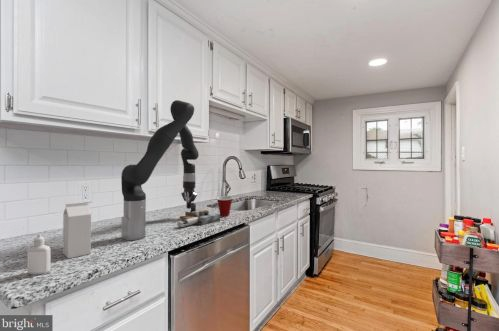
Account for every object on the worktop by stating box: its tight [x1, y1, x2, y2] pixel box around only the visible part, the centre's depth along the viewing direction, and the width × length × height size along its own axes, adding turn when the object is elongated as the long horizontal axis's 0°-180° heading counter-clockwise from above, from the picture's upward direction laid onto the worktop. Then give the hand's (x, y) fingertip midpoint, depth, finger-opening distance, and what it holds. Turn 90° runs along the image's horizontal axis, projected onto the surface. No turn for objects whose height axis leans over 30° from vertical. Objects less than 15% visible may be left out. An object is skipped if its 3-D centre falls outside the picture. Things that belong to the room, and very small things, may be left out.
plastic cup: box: [216, 195, 234, 217], centre depth 166 cm, size 11×11×12 cm
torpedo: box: [176, 217, 198, 228], centre depth 139 cm, size 18×5×7 cm, turn 146°
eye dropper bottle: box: [26, 233, 52, 275], centre depth 78 cm, size 4×6×12 cm
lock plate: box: [179, 209, 221, 226], centre depth 151 cm, size 14×21×6 cm, turn 52°
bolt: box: [190, 202, 199, 216], centre depth 153 cm, size 3×10×7 cm, turn 52°
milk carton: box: [62, 201, 92, 259], centre depth 94 cm, size 7×7×19 cm
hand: (188, 208), depth 157 cm, fingers closed
